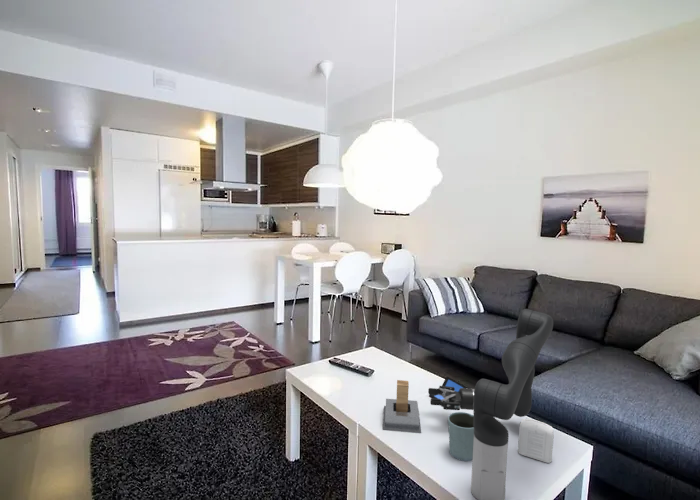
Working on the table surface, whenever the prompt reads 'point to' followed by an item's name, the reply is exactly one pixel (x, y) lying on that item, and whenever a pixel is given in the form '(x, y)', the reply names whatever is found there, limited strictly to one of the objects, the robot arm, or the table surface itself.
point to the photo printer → (535, 440)
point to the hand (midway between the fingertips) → (429, 396)
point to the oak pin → (402, 396)
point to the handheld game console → (448, 383)
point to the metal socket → (401, 417)
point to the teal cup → (461, 435)
